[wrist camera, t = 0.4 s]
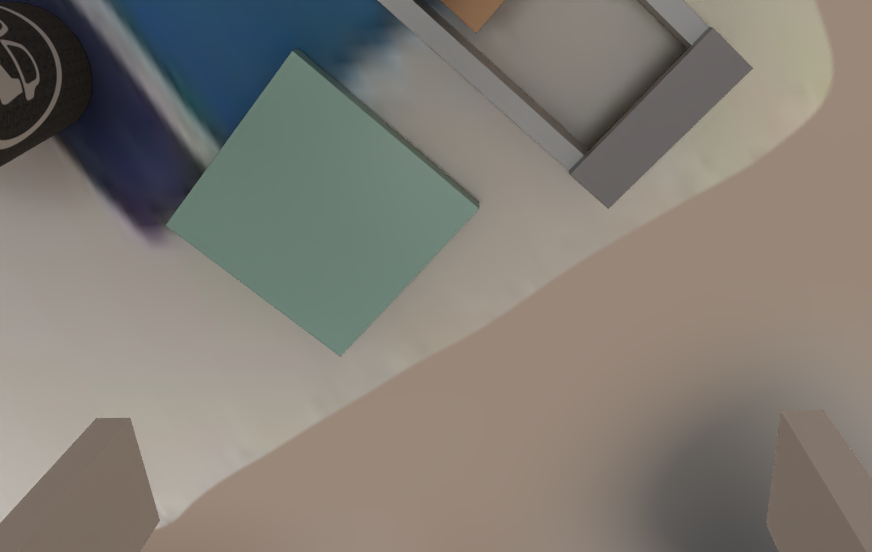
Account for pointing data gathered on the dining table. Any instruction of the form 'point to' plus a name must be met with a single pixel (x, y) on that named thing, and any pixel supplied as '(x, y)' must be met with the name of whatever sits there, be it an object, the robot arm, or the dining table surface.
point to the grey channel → (636, 130)
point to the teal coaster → (321, 206)
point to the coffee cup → (38, 78)
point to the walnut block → (473, 11)
